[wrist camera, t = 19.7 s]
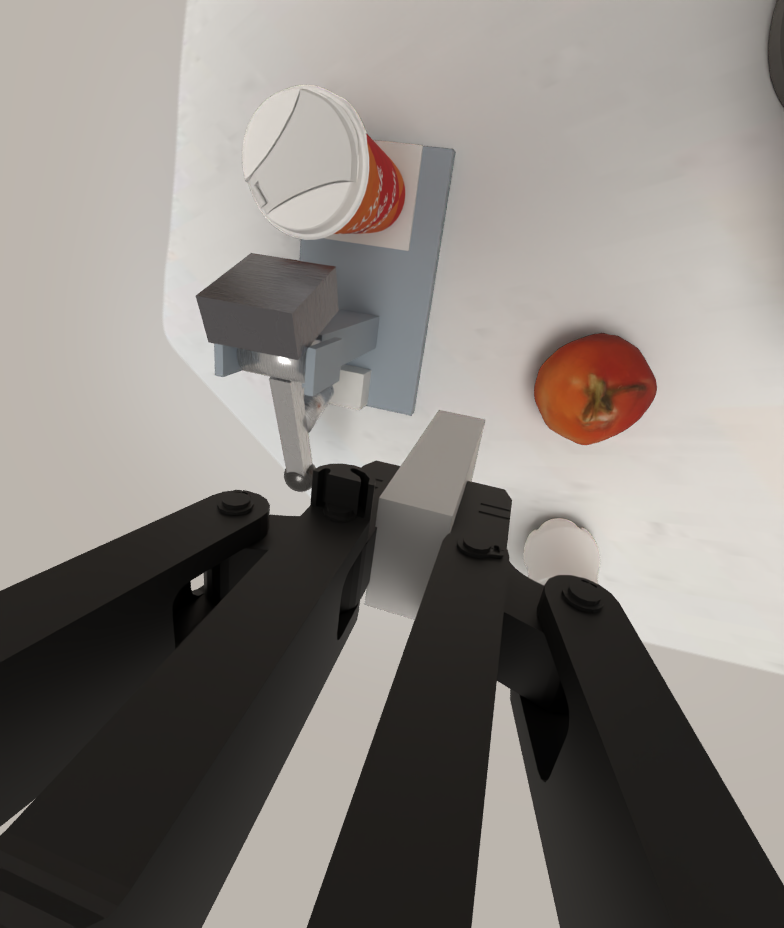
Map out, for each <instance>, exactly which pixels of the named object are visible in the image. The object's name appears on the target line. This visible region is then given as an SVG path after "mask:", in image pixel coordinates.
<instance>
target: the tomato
mask: <svg viewBox="0 0 784 928" xmlns="http://www.w3.org/2000/svg"><path fill="white" fill-rule="evenodd" d="M656 391H657V385H656V379H655V377H654V375H653V373H652V371H651V369H650V367H649V365H648V364H647V362H646V360H645V358H644V357H643V355H642V353H641V352H640V350H639V349H638V348H637V347H635V346H634V345H632V344H631V343H629V342H628V341H626V340H624V339H622V338H621V337H619V336H616V335H608V334H605V333H599V334H593V335H589V336H586V337H583V338H580V339H578V340H575V341H572V342H570V343H568V344H566V345H564V346H562V347H561V348H559V349H558V350H557V351H556V352H555V353H553V354H552V355H551V356H550V357H549V358H548V359H547V360H546V361H545V363H544V364H543V365H542V366H541V368H540V369H539V372H538V376H537V379H536V383H535V386H534V396H535V401H536V404H537V406H538V409H539V411H540V413H541V415H542V418H543V420H544V422H545V423H546V425H547V426H548V427H549V428H550V429H551V430H553V431H554V432H556V433H558V434H559V435H561V436H563V437H565V438H567V439H569V440H571V441H573V442H575V443H577V444H581V445H589V444H593V443H597V442H600V441H603V440H606V439H608V438H610V437H612V436H615V435H617V434H619V433H621V432H623V431H624V430H626V429H628V428H629V427H630V426H632V425H633V424H634V423H635V422H637V421H638V420H639V419H640V418H641V417H642V415H643V414H644V413H645V412H646V410H647V409H648V408H649V406H650V405H651V403H652V401H653V400H654V398H655V395H656Z"/></svg>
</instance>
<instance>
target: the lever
mask: <svg viewBox="0 0 784 928" xmlns="http://www.w3.org/2000/svg"><path fill="white" fill-rule="evenodd" d="M196 298H197V302H198V306H199V309H200V313H201V316H202V320H203V324H204V327H205V331H206V334H207V338H208V342H210V343H215V344H220V345H225V346H230V347H235V348H237V360H238V364H239V366H240V368H241V369H242V370H244V371H247V372H252V373H257V374H261V375H266V376H271V377H270V378H269V381H270V386H271V391H272V397H273V402H274V407H275V412H276V418H277V423H278V428H279V434H280V439H281V444H282V449H283V455H284V460H285V465H286V469H285V472H284V479H285V482H286V484H287V485H288V486H289V487H290V488H291V489H292V490H295V491H298V492H303V491H307V490H309V489H311V488H312V478H313V470H314V469H316V468H315V466H314V465H313V464H312V457H311V449H310V442H309V434H308V433H309V432H310V431H311V429H312V428H313V426H314V425H315V423H316V422H317V420H318V419H319V417H320V416H321V414H322V413H323V411H324V409H325V408H326V406H327V405H328V403H329V402H330V400H331V399H332V397H333V395H334V389H333V386H332V385H331V386H330V387H328V388H326V389H325V390H323V391H321V392H320V393H318V394H316V395H314V396H308V395H304V388H303V389H302V383H304V384H305V369H306V353H307V349H308V348H309V346H312V345H315V344H318V343H320V342H321V341H320V340H315V339H316V338H317V337H318V335H319V334H320V333H321V332H322V330H323V329H324V328H325V327H326V325H327V324H328V323H329V322H330V320H331V319H332V318H333V317H334V316H335V314H336V313H337V312H338V311H339V309H338V292H337V275H336V267H335V266H329V265H323V264H316V263H310V262H304V261H297V260H291V259H285V258H279V257H272V256H266V255H260V254H253V253H251V254H249V255H248V256H247V257H245V258H244V259H243V260H242V261H240V262H239V263H238V264H236V265H235V266H234V267H233V268H231V269H230V270H229V271H227V272H226V273H225V274H223V275H222V276H221V277H220V278H218V279H217V280H216V281H214V282H213V283H212V284H210V285H209V286H208V287H207V288H205V289H204V290H203V291H201V292H200V293H199V294H197V295H196Z"/></svg>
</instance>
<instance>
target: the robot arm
mask: <svg viewBox="0 0 784 928" xmlns="http://www.w3.org/2000/svg"><path fill="white" fill-rule="evenodd" d="M769 67H770V73H771V78H772V82H773V85H774V88H775V91H776V93H777V96H778V98H779V100H780V102H781V103H782V105H783V106H784V0H778V1H777V4H776V7H775V11H774V15H773V19H772V24H771V29H770V37H769ZM484 424H485V420H484V419H479V418H475V417H470V416H465V415H460V414H456V413H451V412H446V411H441V410H439V411H438V412H437V414H436V415H435V417H434V418H433V420H432V421H431V422H430V424H429V425H428V427H427V428H426V430H425V431H424V433H423V434H422V436H421V437H420V439H419V440H418V442H417V443H416V444H415V446H414V447H413V449H412V450H411V452H410V453H409V455H408V456H407V458H406V459H405V461H404V462H403V464H402V465H401V466H397V465H393V464H388V463H384V462H380V461H374V462H372V463H369V464H367V465H364V466H363V467H362V468H360V467H357V466H354V465H347V464H328V465H323V466H320V467H318V468H316V469H314V470H313V478H312V492H311V505H310V507H309V508H308V509H307V510H306V511H305V512H304V513H303V514H302V515H301V516H281V515H280V516H279V515H269V511H270V509H269V508H270V505H269V503H268V501H267V499H265V498H264V497H262V496H261V495H259V494H256V493H253V492H249V491H244V490H243V491H242V490H234V491H227V492H222V493H218V494H215V495H212V496H210V497H208V498H206V499H203V500H201V501H199V502H197V503H194V504H192V505H190V506H188V507H185V508H183V509H181V510H179V511H177V512H175V513H172V514H170V515H168V516H166V517H164V518H161V519H159V520H157V521H155V522H152V523H150V524H148V525H146V526H143V527H141V528H139V529H137V530H135V531H132V532H130V533H128V534H126V535H123V536H121V537H119V538H117V539H114V540H112V541H110V542H108V543H106V544H104V545H101V546H99V547H97V548H95V549H92V550H90V551H88V552H86V553H83V554H81V555H79V556H77V557H75V558H72V559H70V560H68V561H66V562H64V563H61V564H59V565H57V566H55V567H53V568H50V569H48V570H46V571H44V572H41V573H39V574H37V575H35V576H32V577H30V578H28V579H26V580H24V581H21V582H19V583H17V584H15V585H12V586H10V587H8V588H6V589H4V590H1V591H0V826H1V825H3V824H4V823H5V822H7V821H8V820H9V819H10V818H12V817H13V816H14V815H15V814H17V813H18V812H19V811H20V810H22V809H23V808H24V807H25V806H27V805H28V804H29V803H30V802H32V801H33V800H34V799H35V798H36V799H35V800H34V801H33V802H32V803H31V804H30V805H29V806H28V807H27V808H26V810H24V812H23V813H22V814H21V815H20V816H19V817H18V818H17V819H16V820H15V821H14V822H13V823H12V825H10V826H9V828H8V829H7V830H6V831H5V832H4V833H2V835H0V928H202V925H203V924H204V922H205V920H206V918H207V916H208V914H209V912H210V910H211V908H212V906H213V904H214V902H215V900H216V898H217V896H218V894H219V892H220V890H221V888H222V886H223V884H224V882H225V880H226V878H227V876H228V874H229V872H230V870H231V868H232V866H233V864H234V862H235V861H236V859H237V857H238V854H239V853H240V851H241V849H242V847H243V844H244V843H245V841H246V839H247V837H248V835H249V833H250V831H251V829H252V827H253V825H254V823H255V821H256V819H257V817H258V815H259V813H260V811H261V809H262V807H263V805H264V803H265V801H266V799H267V797H268V795H269V793H270V791H271V789H272V787H273V785H274V783H275V781H276V779H277V777H278V775H279V773H280V771H281V769H282V767H283V765H284V763H285V761H286V759H287V758H288V756H289V754H290V752H291V749H292V747H293V746H294V744H295V742H296V739H297V738H298V736H299V734H300V732H301V730H302V728H303V726H304V724H305V722H306V720H307V718H308V716H309V714H310V712H311V710H312V708H313V706H314V704H315V702H316V700H317V698H318V696H319V694H320V692H321V690H322V688H323V686H324V684H325V682H326V680H327V678H328V676H329V674H330V672H331V670H332V668H333V666H334V664H335V662H336V660H337V658H338V656H339V655H340V652H341V650H342V649H343V647H344V645H345V643H346V641H347V639H348V637H349V634H350V633H351V631H352V629H353V627H354V625H355V623H356V621H357V617H358V612H359V604H360V599H361V597H362V596H363V594H364V592H365V590H366V588H367V590H366V597H365V605H367V606H371V607H374V608H377V609H380V610H384V611H387V612H391V613H394V614H397V615H401V616H404V617H407V618H411V619H414V620H415V621H414V624H413V626H412V630H411V632H410V635H409V638H408V641H407V644H406V646H405V649H404V652H403V655H402V658H401V661H400V664H399V666H398V669H397V672H396V675H395V678H394V681H393V684H392V686H391V689H390V692H389V695H388V698H387V701H386V703H385V706H384V709H383V712H382V715H381V718H380V721H379V723H378V726H377V729H376V732H375V735H374V738H373V740H372V743H371V746H370V749H369V752H368V755H367V757H366V760H365V763H364V766H363V769H362V772H361V775H360V777H359V780H358V783H357V786H356V789H355V792H354V794H353V797H352V800H351V803H350V806H349V809H348V812H347V815H346V817H345V820H344V823H343V826H342V829H341V832H340V835H339V837H338V840H337V843H336V846H335V849H334V851H333V854H332V857H331V860H330V863H329V866H328V868H327V871H326V874H325V877H324V880H323V883H322V886H321V888H320V891H319V894H318V897H317V900H316V903H315V905H314V908H313V911H312V915H311V918H310V920H309V923H308V925H307V928H471V925H472V915H473V906H474V896H475V887H476V886H475V885H476V877H477V867H478V857H479V847H480V838H481V828H482V819H483V809H484V798H485V789H486V779H487V770H488V760H489V751H490V740H491V731H492V721H493V711H494V701H495V692H496V682H497V681H498V682H500V683H502V684H504V685H505V686H507V687H508V688H510V689H511V690H510V694H511V695H510V700H511V705H512V709H513V714H514V719H515V723H516V728H517V732H518V737H519V741H520V746H521V751H522V755H523V760H524V764H525V769H526V773H527V778H528V783H529V787H530V792H531V796H532V801H533V806H534V810H535V815H536V819H537V824H538V829H539V833H540V838H541V842H542V847H543V852H544V856H545V861H546V865H547V870H548V874H549V879H550V884H551V888H552V893H553V897H554V902H555V906H556V911H557V916H558V920H559V924H560V928H784V885H783V883H782V881H781V880H780V878H779V877H778V875H777V873H776V871H775V870H774V868H773V866H772V865H771V863H770V861H769V859H768V858H767V856H766V854H765V852H764V851H763V849H762V847H761V845H760V844H759V842H758V840H757V839H756V837H755V835H754V833H753V832H752V830H751V828H750V827H749V825H748V823H747V821H746V820H745V818H744V816H743V815H742V813H741V811H740V809H739V808H738V806H737V804H736V802H735V801H734V799H733V797H732V796H731V794H730V792H729V791H728V789H727V787H726V786H725V784H724V782H723V781H722V778H721V777H720V775H719V773H718V772H717V770H716V768H715V767H714V765H713V763H712V761H711V760H710V758H709V756H708V754H707V753H706V751H705V749H704V748H703V746H702V744H701V742H700V741H699V739H698V738H697V736H696V734H695V732H694V731H693V729H692V727H691V725H690V724H689V722H688V720H687V718H686V717H685V715H684V713H683V712H682V710H681V708H680V706H679V705H678V703H677V701H676V700H675V698H674V696H673V695H672V693H671V691H670V689H669V688H668V686H667V684H666V682H665V681H664V679H663V677H662V676H661V674H660V672H659V670H658V669H657V667H656V665H655V664H654V662H653V660H652V658H651V657H650V655H649V653H648V651H647V650H646V648H645V646H644V645H643V643H642V641H641V639H640V638H639V636H638V634H637V633H636V631H635V629H634V627H633V626H632V624H631V622H630V621H629V619H628V617H627V615H626V614H625V612H624V610H623V609H622V607H621V605H620V603H619V602H618V601H617V600H616V599H615V597H614V596H613V595H612V594H611V593H610V592H608V591H607V590H606V589H604V588H603V587H601V586H600V585H598V584H597V583H595V582H593V581H590V580H588V579H586V578H582V577H577V576H573V575H557V576H554V577H551V578H549V579H548V581H547V582H546V583H545V585H542V584H540V583H538V582H536V581H534V580H532V579H530V578H528V577H526V576H525V575H523V574H522V573H520V572H519V571H518V570H517V569H515V567H514V566H513V565H512V564H511V563H510V561H509V554H508V550H507V541H508V532H509V522H510V513H511V504H512V500H511V498H510V497H509V495H508V494H507V492H506V491H505V490H504V489H500V488H496V487H491V486H487V485H483V484H479V483H475V482H472V477H473V473H474V468H475V464H476V459H477V455H478V450H479V446H480V441H481V437H482V432H483V428H484ZM202 573H204V585H203V586H202V587H200V588H199V589H197V590H194V591H192V590H191V582H190V581H191V580H192V579H194V578H196V577H198V576H199V575H201V574H202Z"/></svg>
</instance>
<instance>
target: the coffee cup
mask: <svg viewBox="0 0 784 928" xmlns="http://www.w3.org/2000/svg"><path fill="white" fill-rule="evenodd" d="M242 163H243V172H244V176H245V181H246V182H248V184H249V187H250V190H251V192H252V195H253V198H254V200H255V202H256V204H257V206H258V208H259V209H260V211H261V212H262V214H263V215H264V216H265V217H266V219H267V220H268V221H269V222H270V223H271V224H272V225H273V226H275V227H276V228H277V229H278V230H280V231H281V232H283V233H285V234H287V235H289V236H292V237H294V238H298V239H304V240H316V239H321V238H325V237H327V236H330V235H332V234H363V233H375V232H379V231H382V230H385V229H386V228H388V227H389V226H391V225H392V224H393V223H394V222H395V221H396V220H397V218H398V217H399V215H400V213H401V211H402V209H403V206H404V201H405V185H404V181H403V178H402V175H401V173H400V171H399V169H398V168H397V166H396V165H395V164H394V163H393V161H392V160H391V159H390V158H389V157H388V156H387V155H386V153H385V152H384V151H383V150H382V149H381V148H380V147H379V146H378V145H377V144H376V143H375V142H374V141H373V140H372V139H371V138H370V137H369V136H368V134H367V133H366V130H365V127H364V125H363V123H362V120H361V119H360V117H359V115H358V114H357V112H356V110H355V109H354V108H353V107H352V105H351V104H350V103H349V102H348V101H347V100H346V99H344V98H342V97H340V96H338V95H336V94H334V93H332V92H331V91H329V90H327V89H324V88H321V87H318V86H313V85H298V86H293V87H290V88H287V89H285V90H283V91H279V92H277V93H276V94H274V95H272V96H270V97H269V98H268V99H267V100H265V101H264V102H263V103H262V104H261V105H260V107H259V108H258V109H257V110H256V112H255V113H254V115H253V116H252V118H251V120H250V122H249V125H248V127H247V130H246V133H245V137H244V142H243V149H242Z"/></svg>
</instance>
